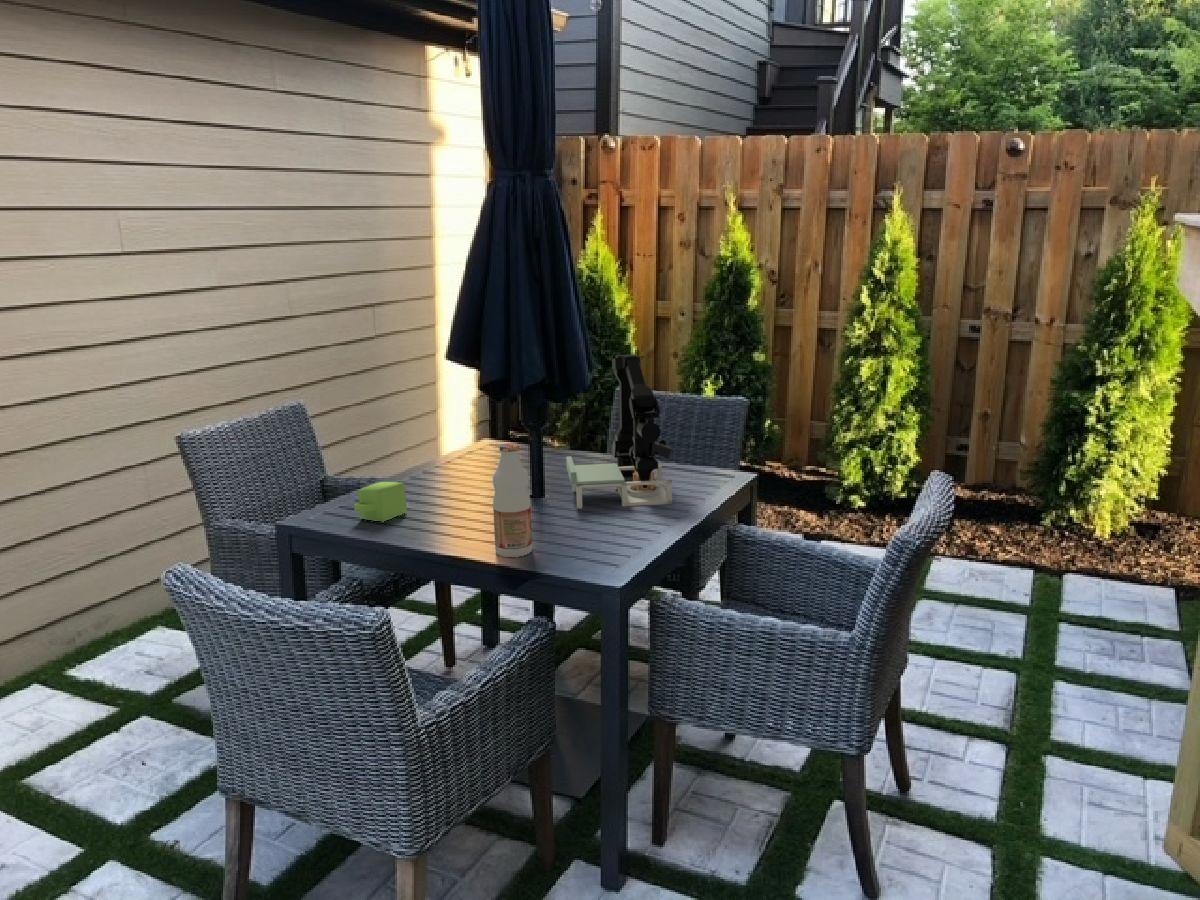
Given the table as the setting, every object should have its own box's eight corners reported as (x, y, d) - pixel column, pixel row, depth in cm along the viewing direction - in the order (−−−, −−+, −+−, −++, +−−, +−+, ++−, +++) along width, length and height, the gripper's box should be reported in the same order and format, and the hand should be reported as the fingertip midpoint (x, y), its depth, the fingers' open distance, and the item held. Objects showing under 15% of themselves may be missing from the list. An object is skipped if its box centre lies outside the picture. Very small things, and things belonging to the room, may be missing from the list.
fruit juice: (487, 553, 242) (482, 446, 235) (514, 543, 249) (509, 439, 242) (513, 561, 236) (509, 451, 229) (540, 550, 243) (536, 444, 236)
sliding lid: (566, 468, 294) (566, 456, 293) (616, 465, 296) (616, 454, 295) (571, 484, 276) (570, 472, 275) (624, 482, 277) (624, 469, 276)
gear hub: (631, 485, 291) (631, 470, 290) (652, 484, 292) (652, 469, 290) (634, 491, 285) (634, 475, 284) (655, 490, 285) (655, 474, 284)
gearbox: (390, 507, 284) (387, 476, 282) (416, 509, 280) (413, 478, 278) (349, 523, 269) (345, 490, 267) (376, 526, 264) (373, 493, 262)
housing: (572, 490, 296) (571, 468, 294) (661, 486, 299) (661, 464, 297) (577, 508, 278) (576, 485, 276) (671, 503, 280) (671, 481, 279)
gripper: (675, 440, 276) (675, 492, 280) (664, 426, 294) (664, 475, 298) (637, 442, 275) (637, 494, 279) (628, 428, 293) (629, 477, 297)
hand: (643, 484), depth 288 cm, fingers closed on gear hub, 6 cm apart
